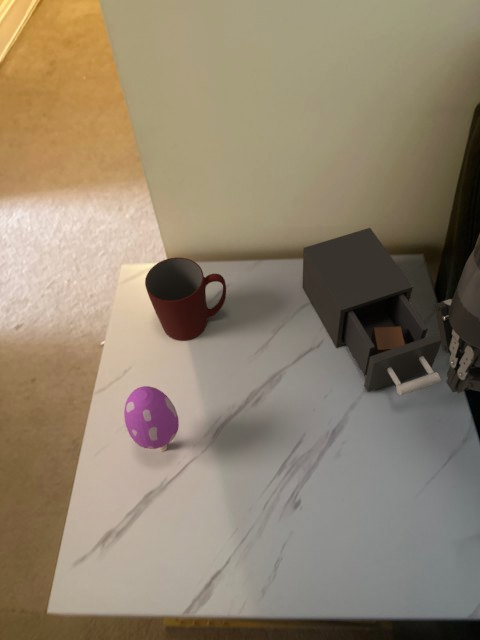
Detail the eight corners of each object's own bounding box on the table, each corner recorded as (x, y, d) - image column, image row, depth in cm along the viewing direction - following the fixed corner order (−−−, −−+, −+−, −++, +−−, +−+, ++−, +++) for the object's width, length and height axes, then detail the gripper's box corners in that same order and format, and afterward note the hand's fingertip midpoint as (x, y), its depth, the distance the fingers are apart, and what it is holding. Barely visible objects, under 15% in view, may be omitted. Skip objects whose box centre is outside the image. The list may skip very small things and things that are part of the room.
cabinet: (402, 325, 90) (413, 286, 82) (336, 348, 88) (340, 310, 81) (363, 267, 98) (370, 227, 90) (302, 287, 96) (303, 247, 89)
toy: (132, 463, 79) (104, 412, 67) (150, 421, 83) (127, 366, 71) (176, 475, 77) (156, 425, 66) (193, 432, 81) (176, 378, 69)
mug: (227, 296, 96) (221, 251, 88) (233, 337, 91) (227, 294, 82) (157, 306, 96) (144, 261, 87) (159, 348, 91) (145, 305, 82)
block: (397, 341, 86) (401, 326, 83) (401, 363, 83) (405, 348, 80) (370, 342, 86) (373, 327, 83) (374, 364, 84) (377, 349, 80)
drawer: (446, 393, 81) (459, 364, 75) (381, 417, 80) (389, 389, 73) (390, 309, 91) (397, 277, 85) (331, 328, 90) (334, 297, 83)
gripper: (581, 332, 50) (518, 422, 64) (493, 235, 57) (454, 333, 71) (507, 359, 49) (459, 444, 62) (427, 256, 56) (400, 352, 70)
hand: (456, 385), depth 67 cm, fingers closed
